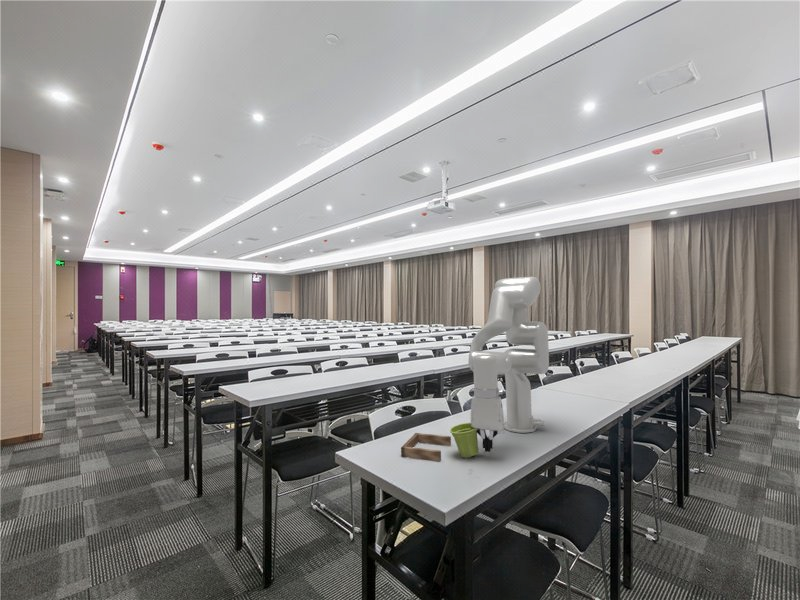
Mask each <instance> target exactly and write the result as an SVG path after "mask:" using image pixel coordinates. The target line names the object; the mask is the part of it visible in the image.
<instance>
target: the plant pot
mask: <svg viewBox="0 0 800 600" xmlns="http://www.w3.org/2000/svg"><path fill="white" fill-rule="evenodd" d="M470 428H471V422H466V423H465V422H464V423H460V424H457V425H454V426H453V427H451V428H450V429H449V432H450V433H451V435H452V437H453V438H454V441H455V444H456V447H457V450H458V452H459V456H460V457H462V458H472V457H473V456H477V455H478V454H479V453H480V452H479V451H480V450H479V444H478V443H479V441H478V433H477V430H476V428H475V429H473V430H470Z"/></svg>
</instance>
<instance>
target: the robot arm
mask: <svg viewBox="0 0 800 600" xmlns="http://www.w3.org/2000/svg"><path fill="white" fill-rule="evenodd" d="M540 294H541V282H540V280H539V279H538V278H537V277H536V276H521V277H508V278H501V279H499V280H497V281H496V282H495V284H494V289H493V290H492V293H491V297H490V302H489V303H490V304H489V309H488V315H487V321H486V323H485V325H483V326H482V327H481V328H480V329H479V330H478V332H476V333H475V336H473V338H472V340H471V344H470V347H469V354H468V367H469V369H470V370H471V371H472V372H473V395H472V397H471V404H470V405H471V406H470V423H471V428H470V430H473V429H475V428H476V430H477V435H478V436H480V438H481V439H482V449H484V452H485V453H491V450H493V449H494V447H493V444H494V442H493V439H494V438H495V437H496V436H498V435H503V434H504V433H505V430H506V431H508V432H511V433H512V432H513V433H519V434H526V433H527V434H528V433H533V432H536V430H537V426H540V427H545V421H544V420H542V419H535V418H534V415H533V414H532V413H533V411H532V410H533V409H532V389H531V386H532V385H531V383H530V380H529V378H528V377H527V376H526V374H535V375H543V374H546V373H547V372H548V371H549V366H550V357H549V356H550V354H549V333H548V332H549V331H548V328H547V326H546V324H545V323H544V322H542V321H533V320H532V321H529V319H528V308H530V307H531V306H533V304H534V303H535V301H536V300H537V299H538V298H539V296H540ZM504 333H505V339H506V341H507V343H509V344H510V345H514V346H533V347H534V348H533V349H532V348H508V349H505V351H504V352H501V351H486V350H483V347H484V345H485V344H486V343H487V342H488V341H489V340H491V339H493V338H496V337H497V336H499V335H501V334H504ZM503 375H504V379H505V399H506V406H505V407H506V421H504V419H505V418H504V409H503V402H502V398H501V396H500V395H503V394H504V391H503V389H499V386H498V385H499V384H498V376H503ZM487 430H488V431H489V433H488V435H487V432H486V431H487Z"/></svg>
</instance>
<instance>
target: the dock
mask: <svg viewBox="0 0 800 600" xmlns="http://www.w3.org/2000/svg"><path fill="white" fill-rule="evenodd" d="M418 442H419V443H420V444H426V443H428V444H427V445H436V446H437V445H439V446H445V447H446V446H447V447H451V445H452V436H450V435H442V434H431V433H430V434H429V433H420V432H415V433H414V434H413V435H412V436H411V437H410V438H408V440H407V441H406V442H405V443H404V444H403V445H401V447H400V451H401V452H400V453H401V455H400V456H402V457H401V458H407V457H409V459H416V460H425V461H431V462H440V463H441V461H442V451H441V450H439V449H430V448H422V447H415V446H417V444H419V443H418ZM413 447H414V448H413Z"/></svg>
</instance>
